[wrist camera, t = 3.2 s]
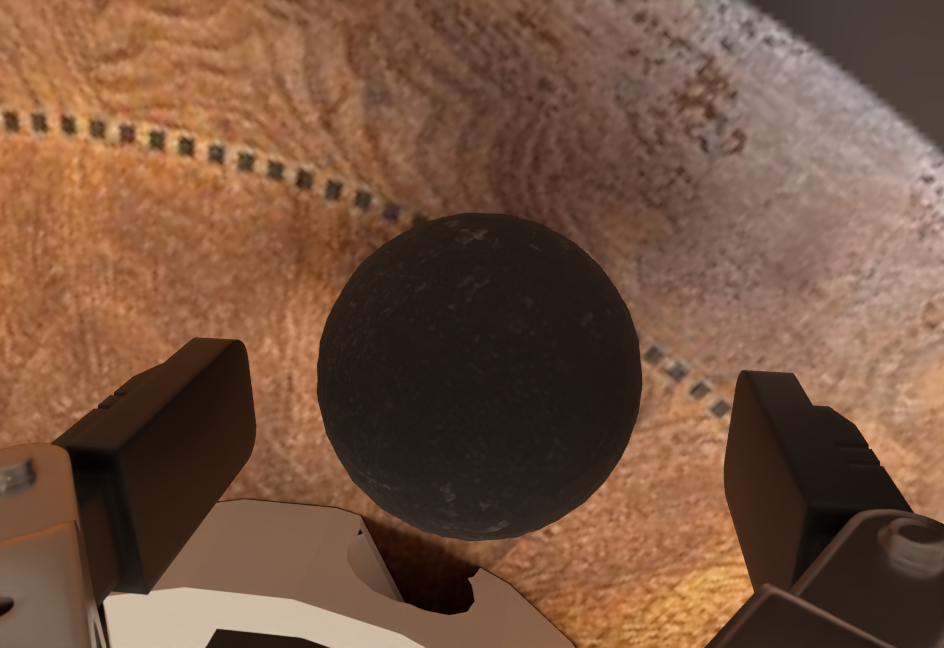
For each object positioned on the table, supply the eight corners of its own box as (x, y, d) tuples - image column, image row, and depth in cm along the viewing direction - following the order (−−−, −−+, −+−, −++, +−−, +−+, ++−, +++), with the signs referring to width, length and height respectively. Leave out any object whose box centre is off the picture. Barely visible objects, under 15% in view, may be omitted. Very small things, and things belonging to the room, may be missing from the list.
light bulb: (655, 298, 20) (724, 548, 11) (470, 381, 21) (391, 660, 12) (558, 103, 18) (542, 200, 9) (366, 209, 20) (187, 381, 11)
